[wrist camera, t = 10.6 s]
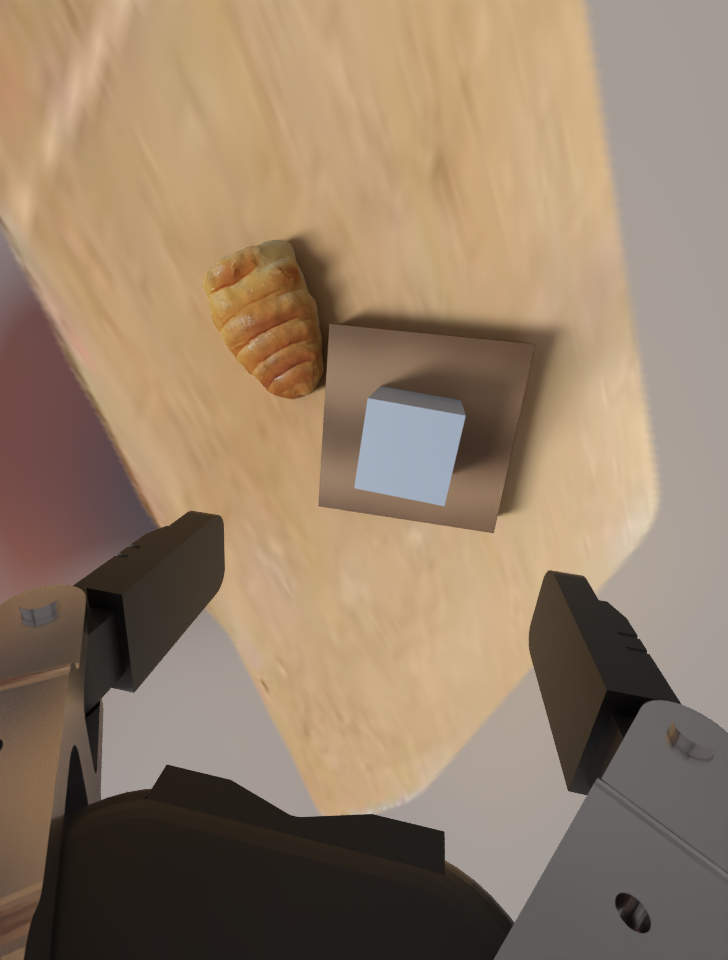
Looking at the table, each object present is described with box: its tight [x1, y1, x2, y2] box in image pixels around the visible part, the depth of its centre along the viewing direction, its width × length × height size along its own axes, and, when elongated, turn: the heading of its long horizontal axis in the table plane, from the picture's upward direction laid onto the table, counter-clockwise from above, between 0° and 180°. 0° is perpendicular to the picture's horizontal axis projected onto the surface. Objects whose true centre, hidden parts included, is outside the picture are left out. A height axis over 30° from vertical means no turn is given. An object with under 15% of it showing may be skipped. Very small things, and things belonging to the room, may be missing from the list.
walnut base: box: [318, 324, 535, 533], centre depth 29 cm, size 12×12×3 cm
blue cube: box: [354, 386, 466, 506], centre depth 25 cm, size 5×5×5 cm
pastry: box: [203, 240, 324, 399], centre depth 27 cm, size 9×7×4 cm
